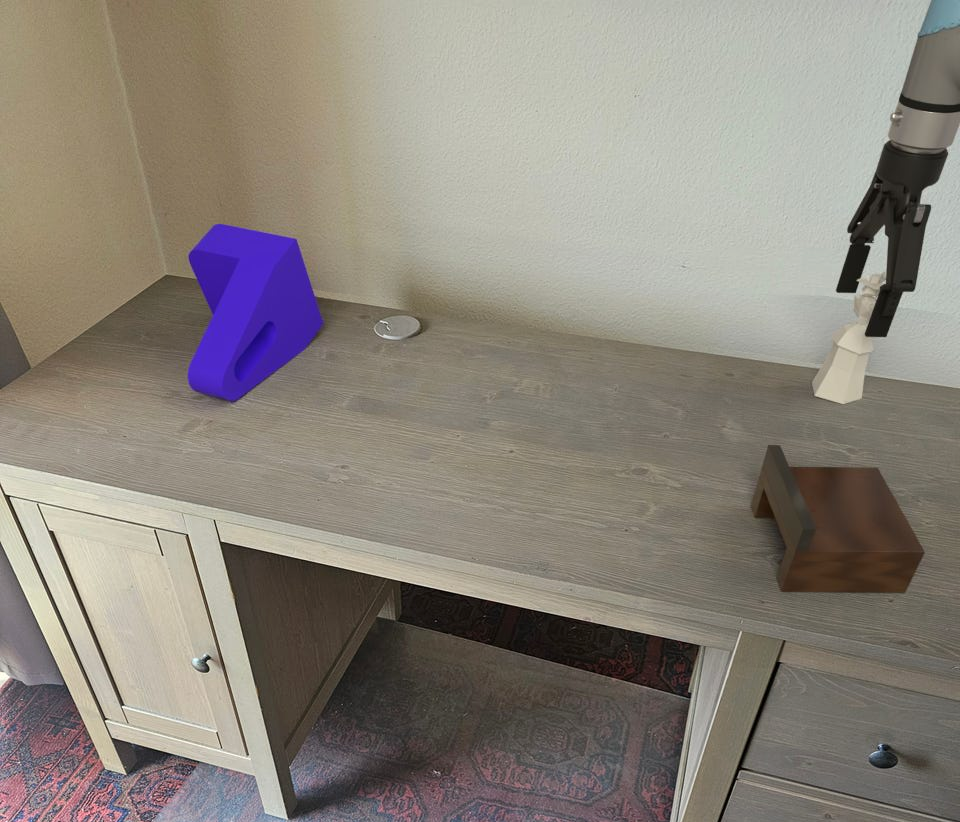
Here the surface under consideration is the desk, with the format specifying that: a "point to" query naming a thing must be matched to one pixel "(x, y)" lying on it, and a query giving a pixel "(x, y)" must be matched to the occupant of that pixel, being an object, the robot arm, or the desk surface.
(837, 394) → the figurine
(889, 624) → the desk surface
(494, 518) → the desk surface
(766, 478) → the brown wooden block
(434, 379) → the desk surface
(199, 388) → the bracket
